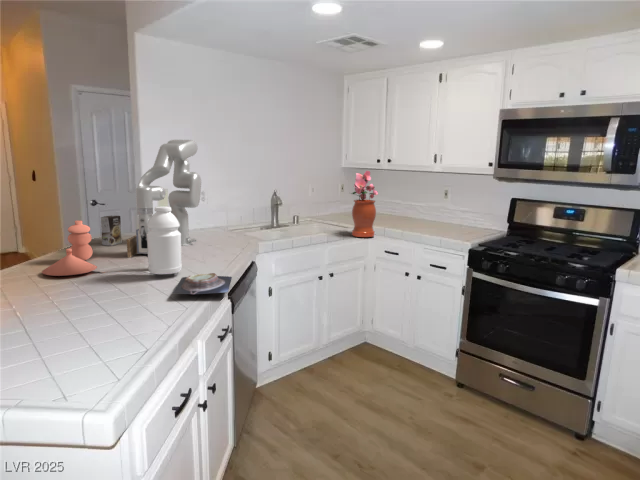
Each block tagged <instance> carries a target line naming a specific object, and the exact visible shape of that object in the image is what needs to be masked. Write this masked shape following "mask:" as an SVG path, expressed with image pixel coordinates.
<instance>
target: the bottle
mask: <svg viewBox="0 0 640 480" xmlns="http://www.w3.org/2000/svg"><path fill="white" fill-rule="evenodd" d="M171 211H172V209H171V207H170V206H165V205H164V206H163V205H162V206H155V207H154V212H155V213H153V215H152V217H151V218H150V220H149V222H148V225H147V227H148V228H149V229H150V231H149V233H148V234H147V249H148V253H147V264H148V266H147V270H148V272H149V273H150V274H153V275H155V274H157V275H168V274H175V273H178V272H180V271H182V270H183V262H182V246H181V233H180V232H179V231H178V227H179V226H180V224H179V222H178V220H177V218H176V217H175V216H174V215H173V214H172V213H171Z"/></svg>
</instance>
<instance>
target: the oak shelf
mask: <svg viewBox="0 0 640 480" xmlns="http://www.w3.org/2000/svg"><path fill="white" fill-rule="evenodd" d="M126 250H127V251H126V252H127V258H129V259H130V258H132V257H134V256H136V255H137V254H138V253H137V239H136V235H133V236H131V237H129V238H128V239H126Z"/></svg>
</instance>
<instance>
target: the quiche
mask: <svg viewBox="0 0 640 480" xmlns="http://www.w3.org/2000/svg"><path fill="white" fill-rule="evenodd" d="M232 278H233V277H232V276H228V275H227V276H226V275H225V276H224V275H223V276H222V275H217V274H216V273H214V272H210V273H205V274H204V273H196V274H192V275H188V276H182V277H181V278H180V280H179V282H178V283H177V285H176V286H175V288H174V289H173V290H172V292H171V293H172V294H173V295H174V294H176V295H177V294H178V295H181V294H182V295H183V294H184V295H203V294H204V295H205V294H220V293H228V292H229V290H230V286H231V282H232V280H233V279H232Z"/></svg>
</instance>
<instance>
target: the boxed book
mask: <svg viewBox="0 0 640 480" xmlns="http://www.w3.org/2000/svg"><path fill="white" fill-rule="evenodd" d="M135 234H136V239H137V254H148V249H147V248H141V236H140V234H139V228H137V229H135ZM144 234H146V233H144ZM145 237H146V236H145Z"/></svg>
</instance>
